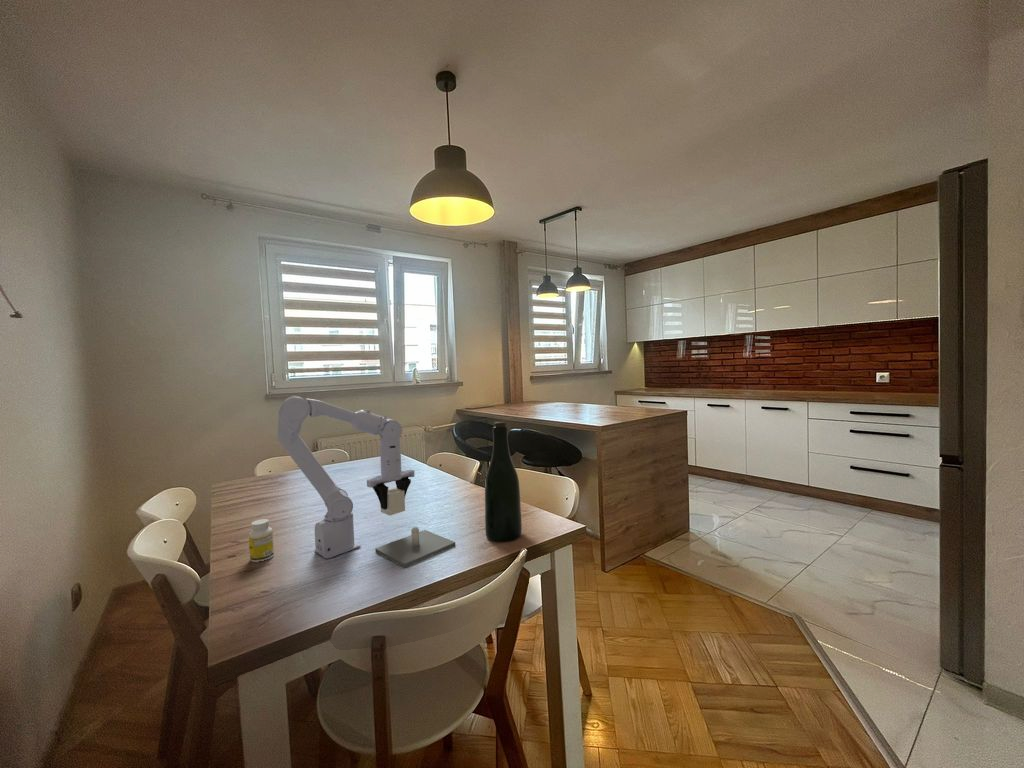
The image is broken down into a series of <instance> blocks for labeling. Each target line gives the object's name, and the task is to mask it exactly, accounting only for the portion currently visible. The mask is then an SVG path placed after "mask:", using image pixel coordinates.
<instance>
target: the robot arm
mask: <svg viewBox="0 0 1024 768" xmlns="http://www.w3.org/2000/svg"><path fill="white" fill-rule="evenodd" d="M309 416H310V417H311V418H315V417H319V416H324V417H329V418H331V419H335V420H340V421H342V422H346V423H351V425H352V427H353V429H354V430H356V431H360V432H363V433H366V434H369V435H373V436H378V435H379V442H380V444H379V453H380V475H378V476H375V477H372V478H370V479H366V487H367V488H372V489H373V491H374V493H375V494H376V496H377V499H378V501H379V505H380V509H381V508H382V509H387V493H388V490H389V489H390V488H389V486H386V484H387V483H392V482H395V485H396V487H395V488H397V489H401V490H404V495H405V497H406V496H407V493H408V492H407V491H408V489H409V487H410V485H411V483H412V479H411V478H414V477H415V475H416V474H415V470H413V469H406V470H402V456H401V450H402V449H401V436H402V433H403V428H402V426H401V424H400V423H399V422H398V421H397V420H394V419H392V418H390V417H387V415H379V414H376V413H373V412H372V410H371V409H367V408H366V409H365V410H364V409H359V410H358V411H355V412H354V411H352V410H349V409H346V408H344V407H343V408H342V407H340V406H338V405H337V406H336V405H334V404H332V403H328V402H325V401H322V400H318V399H312V398H309V397H308V398H303V397H302V396H298V395H292V396H289V397H286V399H284V400H283V402H282V404H281V406H280V408H279V410H278V416H277V417H278V421H277V436H276V437H277V440H278V442H279V444H280V445H281V446H282V447H283V449H284V450H285V451H286V452H287V453H288V455H289V456H290V458H291V459H292V461H293V462H294V463H295V464H296V466H297V467H298V468H299V470H300V471H301V472H302V473H303V475H304V476H305V478H307V480H308V481H309V483H310V484H311V485H312V486H313V488H314V490H316V491H317V493H318V495H319V496H320V498H321V499H322V501H323V502H324V505H325V508H327V511H326V513H325V515H324V518H323V519H322V520H320V521H318V522H316V523H315V524H314V544H315V547H314V552H316V553H317V554H319V555H320V556H321V557H323V558H324V559H326V560H327V559H330V558H334V557H336V556H339V555H341V554H345V553H347V552H350V551H353V550H356V549H358V548H361V544H359V543H358V542H356V541H355V531H354V530H355V529H354V525H355V524H354V511H353V509H354V503H353V500H352V499H351V498H350V497H349V494H348V492H347V491H346V490H344V489H342V488H341V487H339V486H338V485H337V484H336V482H334V480H333V479H332V478H331V476H330V475H329V474H328V472H327V471H326V469H325V468H324V466H323V465H322V464H321V462H320V461H319V460H318V459H317V457H316V456H315V455H314V453H313V452H312V451H311V449H310V448H309V447H308V445H307V444H306V443H305V441H304V440H303V439H302V437H301V436H300V433H301V429H302V425H303V423H304V422H305V420H306V419H307V418H308V417H309Z"/></svg>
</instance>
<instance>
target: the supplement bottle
mask: <svg viewBox="0 0 1024 768" xmlns="http://www.w3.org/2000/svg"><path fill="white" fill-rule="evenodd" d="M250 526H251V531H250V532H249V534H248V545H249V559H250V562H252V563H260V562H259V561H262V562H265V561H267V559H268V560H270V559H272V558H273V556H275V547H274V532H273V528H272V527H270V520H269V519H268V518H263V519H257V520H254V521H252V522H251V524H250ZM264 560H265V561H264Z"/></svg>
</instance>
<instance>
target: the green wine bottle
mask: <svg viewBox="0 0 1024 768" xmlns="http://www.w3.org/2000/svg"><path fill="white" fill-rule="evenodd" d="M493 425H494V426H493V427H492V439H493V440H492V442H493V443H492V453H491V459H490V462H489V465H488V469H487V471H486V475H485V479H484V524H485V525H484V526H485V527H484V529H485V537H486V538H487V539H488V540H489V541H491V542H496V543H509V542H513V541H516V540H518V539H519V538H520V537H521V536H522V532H523V530H522V529H523V526H522V507H521V506H522V504H521V489H520V480H519V475H518V472H517V468H515V464H514V462H513V460H512V457H511V453H510V447H509V439H508V438H509V436H508V433H509V428H508V426H507V423H506V422H505V421H494V423H493Z"/></svg>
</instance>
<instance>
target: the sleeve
mask: <svg viewBox="0 0 1024 768" xmlns="http://www.w3.org/2000/svg"><path fill="white" fill-rule="evenodd" d="M405 499H406V496H405V495H404V490H401V489H397V487H393V488H388V493H387V509H382V508H381V507H380V513H382V514H385V515H387V516H394V515H396V514H399V513H403V512H406V503H405V502H406V500H405Z"/></svg>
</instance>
